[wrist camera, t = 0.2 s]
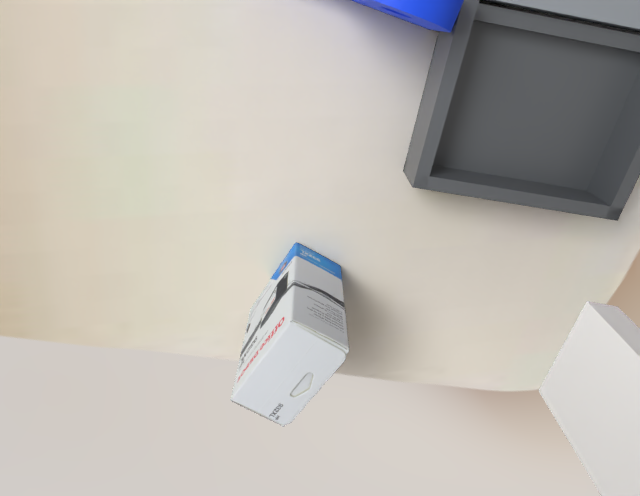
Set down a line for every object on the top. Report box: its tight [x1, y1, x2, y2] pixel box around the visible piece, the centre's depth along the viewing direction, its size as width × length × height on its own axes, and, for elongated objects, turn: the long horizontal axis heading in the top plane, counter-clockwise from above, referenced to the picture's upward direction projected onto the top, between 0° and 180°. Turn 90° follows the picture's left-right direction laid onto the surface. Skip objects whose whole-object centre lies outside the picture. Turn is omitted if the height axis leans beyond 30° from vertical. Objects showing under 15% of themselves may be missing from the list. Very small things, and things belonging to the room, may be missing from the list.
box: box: [403, 0, 640, 221], centre depth 34 cm, size 12×16×4 cm
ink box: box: [230, 243, 349, 427], centre depth 38 cm, size 8×5×12 cm, turn 147°
